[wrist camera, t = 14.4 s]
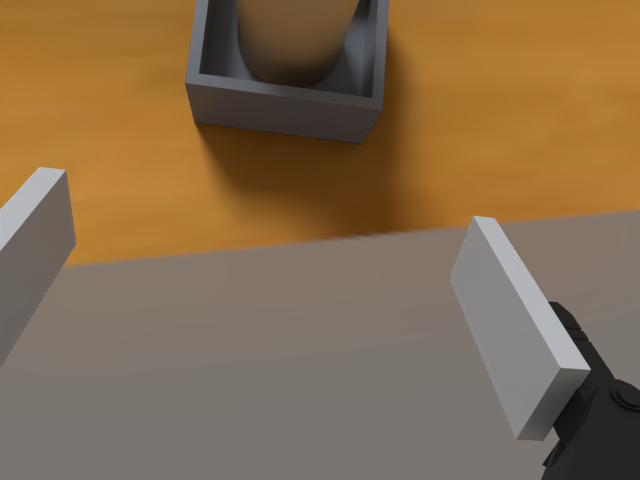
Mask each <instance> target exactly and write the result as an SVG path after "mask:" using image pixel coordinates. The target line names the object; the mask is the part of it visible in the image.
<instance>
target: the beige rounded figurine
mask: <svg viewBox="0 0 640 480" xmlns="http://www.w3.org/2000/svg"><path fill="white" fill-rule="evenodd" d="M358 2H359V0H237V39H238V48H239V51H240V54H241V57H242V59H243V61H244V63H245V64H246V66H247V67H248V68H249V70H250V71H251V72H252V73H253V74H254V75H255V76H257V77H258V78H259V79H260V80H262V81H264V82H265V83H269V84H276V85H283V86H291V87H298V88H308V87H311V86H313V85H315V84H318V83H319V82H321V81H322V80H324V79H325V78H326V77H327V76H328V75H329V74H330V73H331V72H332V70H333V68H334V67H335V65H336V63H337V61H338V58H339V55H340V52H341V49H342V47H343V44H344V41H345V38H346V36H347V33H348V30H349V27H350V24H351V22H352V19H353V16H354V13H355V10H356V8H357V5H358Z"/></svg>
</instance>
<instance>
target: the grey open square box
mask: <svg viewBox="0 0 640 480" xmlns="http://www.w3.org/2000/svg"><path fill="white" fill-rule="evenodd" d="M388 8H389V0H359V2H358V5H357V8H356V10H355V13H354V16H353V19H352V22H351V24H350V27H349V30H348V33H347V36H346V38H345V41H344V44H343V47H342V49H341V52H340V55H339V58H338V61H337V63H336V65H335V67H334V68H333V70H332V72H331V73H330V74H329V75H328V76H327V77H326V78H325V79H324V80H322V81H321V82H319V83H318V84H315V85H313V86H311V87H308V88H298V87H291V86H283V85H276V84H269V83H265V82H264V81H262V80H260V79H259V78H258V77H257V76H255V75H254V74H253V73H252V72H251V71H250V70H249V68H248V67H247V66H246V64H245V63H244V61H243V59H242V57H241V54H240V51H239V48H238V39H237V0H196V7H195V14H194V21H193V28H192V35H191V43H190V50H189V57H188V64H187V71H186V79H185V85H186V89H187V94H188V98H189V102H190V106H191V110H192V114H193V118H194V122H195V123H203V124H211V125H218V126H226V127H234V128H242V129H249V130H257V131H265V132H272V133H280V134H288V135H296V136H303V137H311V138H319V139H327V140H334V141H342V142H350V143H358V144H362V143H363V141H364V140H365V138H366V137H367V135H368V133H369V132H370V130H371V129H372V127H373V125H374V124H375V122H376V120H377V119H378V117H379V116H380V114H381V112H382V111H383V98H384V80H385V62H386V44H387V26H388Z"/></svg>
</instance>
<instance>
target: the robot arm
mask: <svg viewBox="0 0 640 480" xmlns="http://www.w3.org/2000/svg"><path fill="white" fill-rule="evenodd" d="M75 245H76V238H75V231H74V223H73V216H72V209H71V202H70V195H69V187H68V180H67V173H66V170H62V169H53V168H45V167H39V168H38V169H37V170H36V171H35V172H34V173H33V175H32V176H31V177H30V178H29V179H28V180H27V181H26V182H25V183H24V184H23V185H22V187H21V188H20V189H19V190H18V191H17V192H16V193H15V194H14V195H13V196H12V197H11V198H10V200H9V201H8V202H7V203H6V204H5V205H4V206H3V207H2V208H1V209H0V367H1V366H2V364H3V362H4V361H5V359H6V358H7V356H8V354H9V353H10V351H11V349H12V348H13V346H14V344H15V343H16V341H17V340H18V338H19V336H20V335H21V333H22V332H23V330H24V328H25V327H26V325H27V323H28V322H29V320H30V318H31V317H32V315H33V314H34V312H35V310H36V309H37V307H38V305H39V304H40V302H41V300H42V299H43V297H44V296H45V294H46V292H47V291H48V289H49V287H50V286H51V284H52V282H53V281H54V279H55V278H56V276H57V274H58V273H59V271H60V269H61V268H62V266H63V264H64V263H65V261H66V260H67V258H68V256H69V255H70V253H71V251H72V250H73V248H74V246H75ZM449 280H450V282H451V285H452V287H453V290H454V292H455V294H456V297H457V299H458V302H459V304H460V306H461V309H462V311H463V314H464V316H465V318H466V321H467V323H468V326H469V328H470V330H471V332H472V335H473V338H474V340H475V342H476V345H477V347H478V349H479V352H480V354H481V357H482V359H483V362H484V364H485V366H486V369H487V371H488V374H489V376H490V378H491V381H492V383H493V385H494V388H495V390H496V392H497V395H498V398H499V400H500V402H501V405H502V407H503V409H504V412H505V414H506V416H507V419H508V421H509V424H510V426H511V429H512V431H513V433H514V436H515V438H516V439H519V440H538V441H543V440H544V439H545V437H546V436H547V434H548V433H549V432H550V430H551V429H552V427H554V428H555V431H556V433H557V435H558V437H559V439H560V440H559V441H558V443H557V444H556V446H555V447H554V448H553V450H552V451H551V453H550V454H549V456H548V457H547V458H546V460H545V461H544V463H543V465H544V466H545V467H546V469H545V472H544V474H543V477H542V479H541V480H640V390H639V389H637V388H636V387H634V386H633V385H631V384H629V383H626V382H624V381H621V380H617V379H615V378H614V376H613V375H612V373H611V372H610V370H609V369H608V367H607V366H606V364H605V363H604V361H603V360H602V358H601V357H600V355H599V354H598V352H597V351H596V349H595V348H594V347H593V345H592V343H591V342H589V341H588V338H587V336H586V335H585V333H584V332H583V331H581V327H580V326H579V324H578V323H577V321H576V320H575V318H574V317H573V315H572V314H571V313H569V312H568V311H567V310H566V309H565V308H564V307H562V306H561V305H560V304H559V303H558V302H548V301H547V300H546V298H545V297H544V295H543V294H542V292H541V290H540V289H539V287H538V286H537V284H536V283H535V281H534V279H533V278H532V276H531V275H530V273H529V272H528V270H527V268H526V267H525V265H524V264H523V262H522V261H521V259H520V258H519V256H518V254H517V253H516V251H515V250H514V248H513V247H512V245H511V243H510V242H509V240H508V239H507V237H506V235H505V234H504V232H503V231H502V229H501V228H500V226H499V224H498V223H497V221H496V220H495V218H488V217H479V216H473V218H472V221H471V223H470V226H469V228H468V231H467V234H466V236H465V239H464V241H463V244H462V246H461V249H460V252H459V254H458V257H457V259H456V262H455V265H454V267H453V270H452V272H451V275H450V278H449Z"/></svg>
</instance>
